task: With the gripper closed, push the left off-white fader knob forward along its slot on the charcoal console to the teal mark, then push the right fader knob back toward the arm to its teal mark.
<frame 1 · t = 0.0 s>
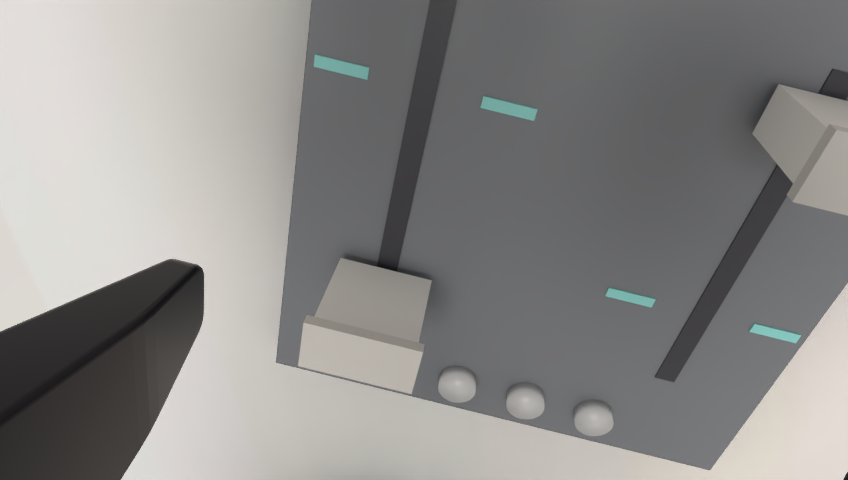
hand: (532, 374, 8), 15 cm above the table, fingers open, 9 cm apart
fader 2: (371, 319, 22), point 4 cm above the table, slide at 1.0 cm
console: (571, 193, 23), on the table
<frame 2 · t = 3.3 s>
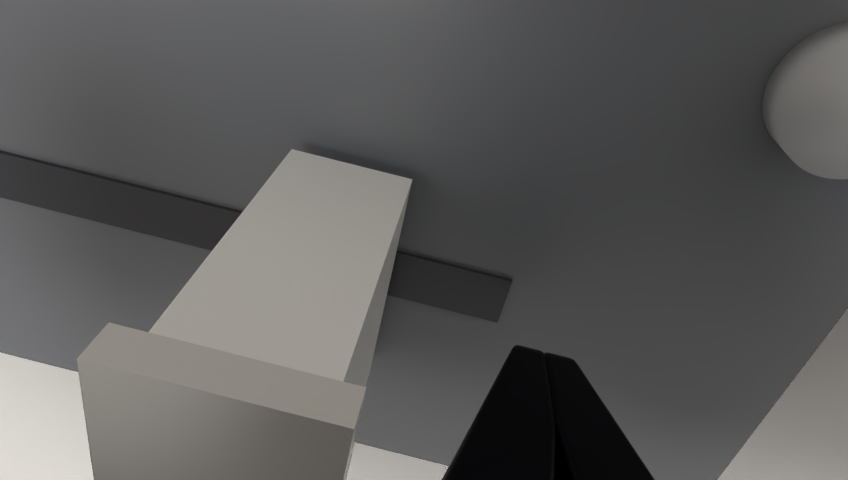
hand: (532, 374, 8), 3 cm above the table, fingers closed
fader 2: (288, 378, 7), point 4 cm above the table, slide at 2.0 cm, touching gripper
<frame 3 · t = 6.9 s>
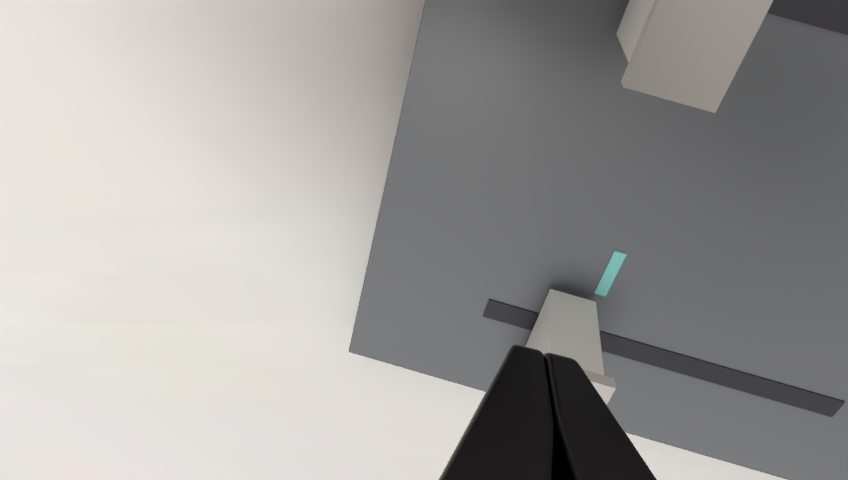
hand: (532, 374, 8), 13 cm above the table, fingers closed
fader 2: (556, 375, 20), point 4 cm above the table, slide at 9.9 cm
console: (734, 200, 20), on the table
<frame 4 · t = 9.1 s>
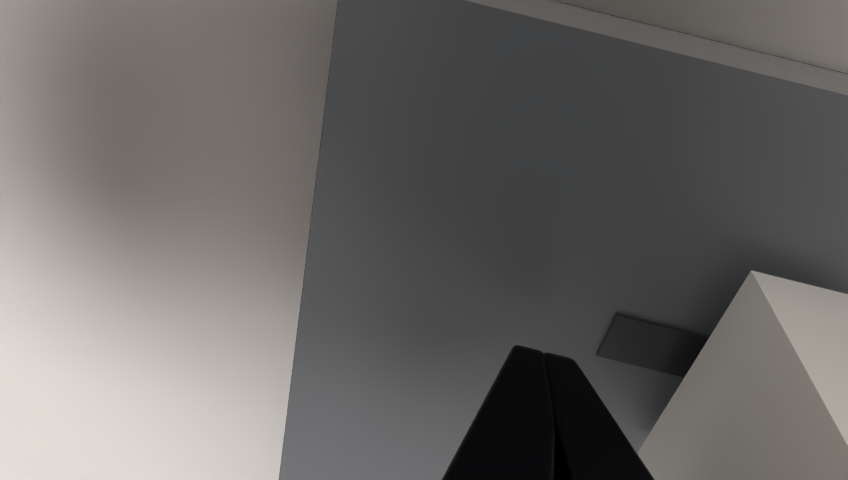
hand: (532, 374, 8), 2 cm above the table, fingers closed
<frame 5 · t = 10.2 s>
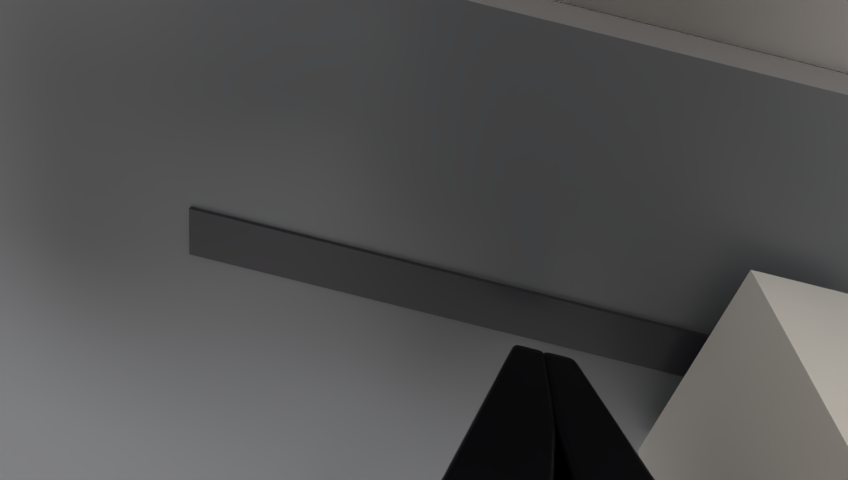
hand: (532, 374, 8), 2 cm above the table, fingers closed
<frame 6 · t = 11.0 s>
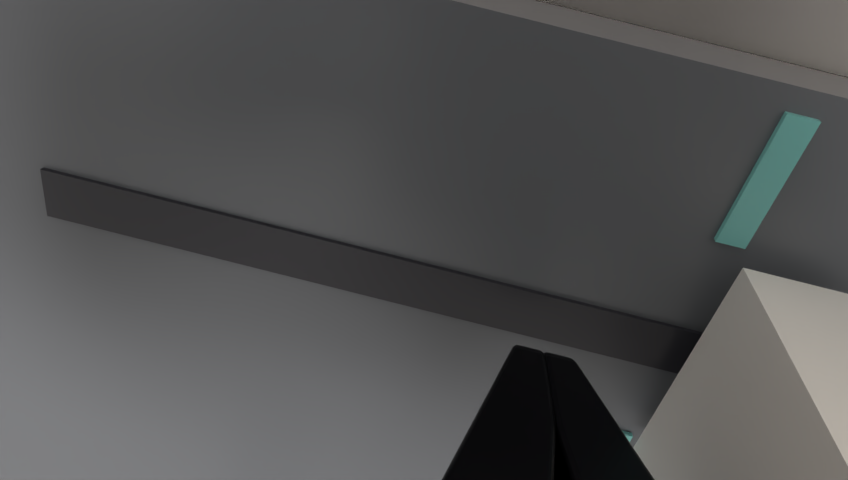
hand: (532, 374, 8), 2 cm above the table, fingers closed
console: (408, 475, 13), on the table
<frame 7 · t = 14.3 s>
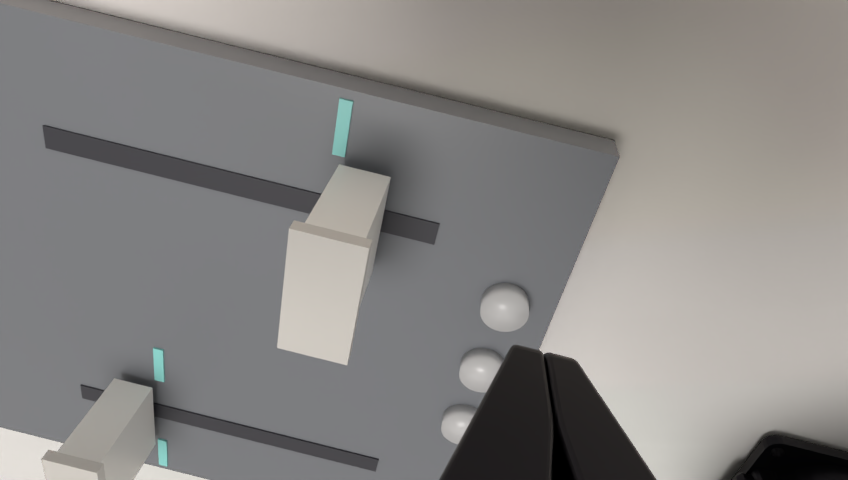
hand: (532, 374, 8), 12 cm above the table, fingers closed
fader 2: (107, 453, 24), point 4 cm above the table, slide at 9.9 cm
console: (246, 303, 24), on the table
fader 1: (340, 257, 18), point 4 cm above the table, slide at 2.1 cm
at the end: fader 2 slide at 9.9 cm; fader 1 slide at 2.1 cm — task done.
